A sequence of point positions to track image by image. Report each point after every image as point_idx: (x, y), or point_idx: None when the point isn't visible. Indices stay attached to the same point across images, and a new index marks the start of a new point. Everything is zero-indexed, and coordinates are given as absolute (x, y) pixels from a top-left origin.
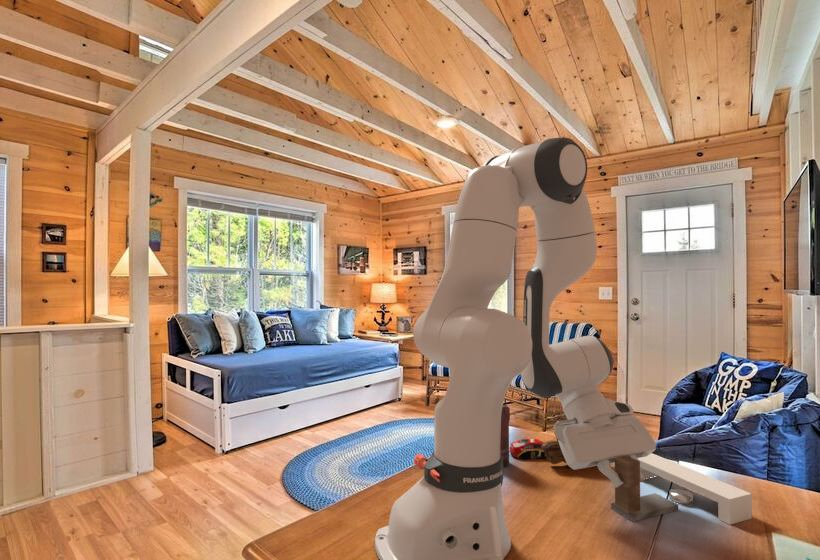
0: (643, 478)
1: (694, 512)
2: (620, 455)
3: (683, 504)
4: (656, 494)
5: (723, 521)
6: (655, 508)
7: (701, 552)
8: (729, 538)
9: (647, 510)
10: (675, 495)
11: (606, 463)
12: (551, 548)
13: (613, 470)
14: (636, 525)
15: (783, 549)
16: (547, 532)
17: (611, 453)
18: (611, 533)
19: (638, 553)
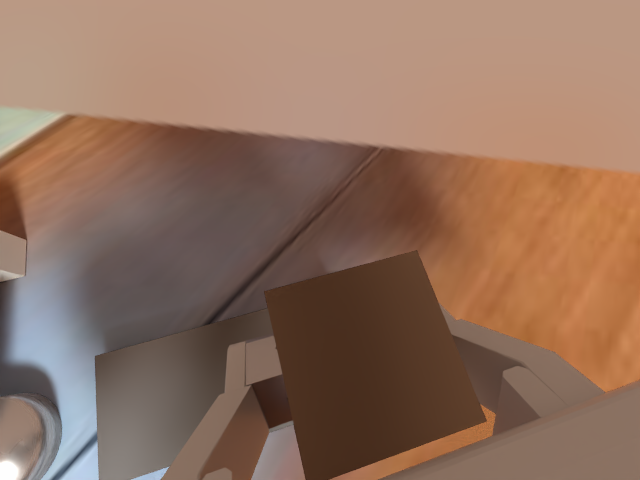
0: (233, 345)
1: (62, 332)
2: (402, 470)
3: (43, 397)
4: (105, 473)
5: (25, 259)
6: (217, 334)
7: (250, 136)
8: (112, 177)
9: (262, 320)
10: (30, 433)
11: (555, 374)
12: (621, 188)
13: (472, 339)
14: (341, 267)
15: (22, 123)
16: (629, 258)
17: (557, 453)
18: (441, 234)
19: (410, 149)
